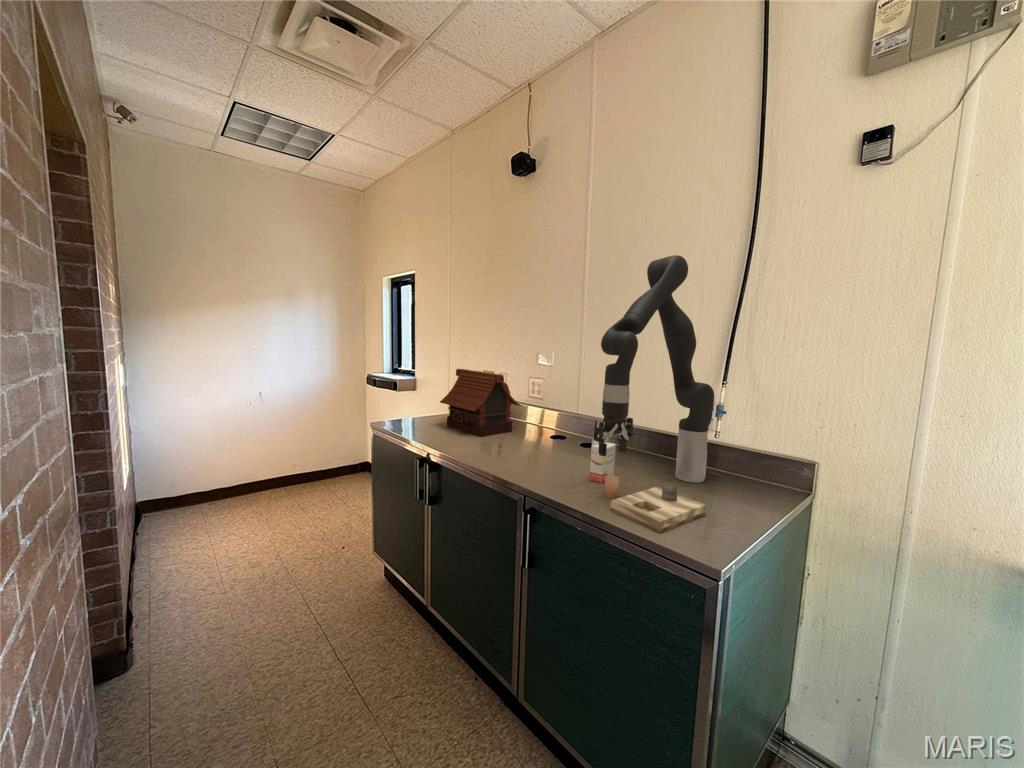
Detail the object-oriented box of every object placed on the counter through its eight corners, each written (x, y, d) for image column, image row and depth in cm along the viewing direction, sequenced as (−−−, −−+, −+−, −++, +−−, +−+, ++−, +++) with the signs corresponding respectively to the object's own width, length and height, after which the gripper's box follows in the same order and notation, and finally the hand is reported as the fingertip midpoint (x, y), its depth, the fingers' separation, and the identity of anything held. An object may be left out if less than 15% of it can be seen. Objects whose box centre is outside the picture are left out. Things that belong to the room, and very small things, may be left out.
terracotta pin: (610, 493, 132) (611, 474, 131) (620, 497, 129) (621, 478, 128) (601, 496, 130) (602, 476, 129) (611, 500, 126) (612, 480, 126)
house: (521, 431, 213) (523, 373, 209) (475, 439, 194) (476, 376, 191) (479, 419, 239) (480, 367, 235) (435, 426, 220) (435, 369, 217)
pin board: (655, 496, 130) (657, 473, 130) (705, 515, 117) (707, 490, 117) (610, 510, 119) (611, 486, 118) (659, 533, 106) (661, 506, 105)
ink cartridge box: (602, 483, 141) (604, 439, 139) (589, 480, 144) (591, 437, 142) (614, 477, 147) (616, 435, 146) (601, 473, 150) (603, 432, 149)
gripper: (622, 396, 133) (618, 447, 135) (589, 399, 125) (586, 453, 127) (642, 400, 127) (638, 453, 129) (608, 403, 119) (605, 460, 121)
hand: (612, 453), depth 128 cm, fingers open, 8 cm apart
